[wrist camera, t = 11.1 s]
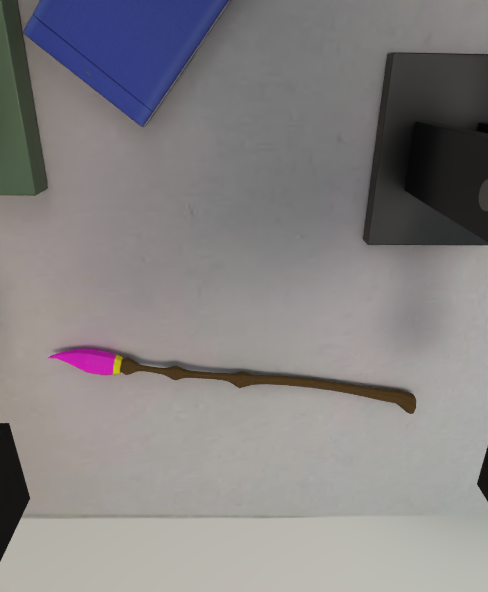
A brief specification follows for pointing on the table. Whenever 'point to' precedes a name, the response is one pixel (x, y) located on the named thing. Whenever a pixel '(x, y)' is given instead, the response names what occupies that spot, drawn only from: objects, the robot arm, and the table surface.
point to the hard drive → (125, 44)
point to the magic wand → (224, 376)
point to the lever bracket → (431, 152)
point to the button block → (17, 112)
